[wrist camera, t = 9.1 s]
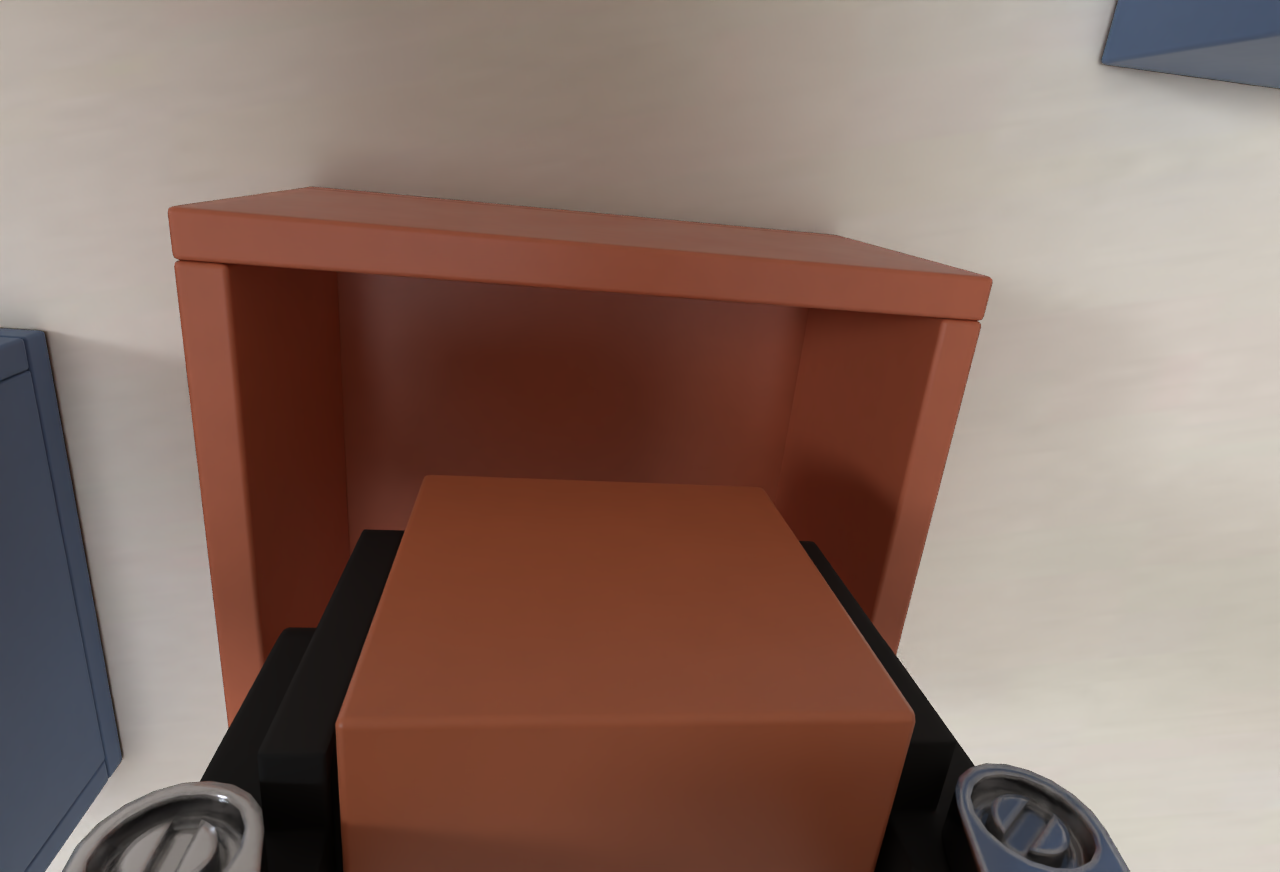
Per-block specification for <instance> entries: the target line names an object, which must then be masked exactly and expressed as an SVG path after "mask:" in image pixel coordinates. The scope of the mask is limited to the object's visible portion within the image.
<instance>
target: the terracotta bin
mask: <svg viewBox="0 0 1280 872" xmlns="http://www.w3.org/2000/svg"><path fill="white" fill-rule="evenodd" d="M168 218H169V227H170V235H171V244H172V252H173V256H174V258H177V259H179V261H176V262H175V266H174V268H175V276H176V285H177V293H178V302H179V310H180V319H181V327H182V336H183V344H184V353H185V361H186V370H187V378H188V387H189V395H190V404H191V412H192V421H193V429H194V438H195V446H196V455H197V463H198V472H199V480H200V489H201V497H202V506H203V514H204V523H205V531H206V540H207V548H208V557H209V566H210V574H211V583H212V591H213V600H214V608H215V617H216V625H217V634H218V642H219V651H220V659H221V668H222V676H223V685H224V693H225V702H226V710H227V719H228V727H230V725H231V723H232V721H233V720H234V718H235V716H236V714H237V712H238V710H239V709H240V707H241V705H242V703H243V701H244V699H245V698H246V696H247V694H248V692H249V690H250V688H251V687H252V685H253V683H254V681H255V679H256V677H257V676H258V674H259V672H260V670H261V668H262V666H263V664H264V663H265V661H266V659H267V657H268V655H269V653H270V652H271V650H272V648H273V646H274V644H275V642H276V641H277V639H278V637H279V636H280V634H281V633H282V631H283V630H284V629H286V628H289V627H302V628H317V626H318V624H319V622H320V620H321V617H322V615H323V613H324V611H325V609H326V607H327V605H328V603H329V601H330V598H331V596H332V594H333V592H334V590H335V588H336V586H337V584H338V581H339V579H340V577H341V575H342V573H343V571H344V569H345V567H346V565H347V562H348V560H349V558H350V556H351V554H352V552H353V550H354V548H355V546H356V543H357V541H358V539H359V537H360V535H361V533H362V531H363V530H365V529H368V530H405V529H406V526H407V523H408V521H409V518H410V515H411V512H412V509H413V507H414V504H415V501H416V498H417V496H418V493H419V490H420V487H421V485H422V482H423V479H424V477H425V476H427V475H449V476H476V477H503V478H530V479H556V480H583V481H610V482H636V483H663V484H690V485H717V486H743V487H760V488H762V489H764V490H765V492H766V493H767V495H768V496H769V498H770V499H771V501H772V502H773V504H774V505H775V507H776V508H777V510H778V511H779V513H780V514H781V516H782V517H783V519H784V520H785V522H786V523H787V524H788V526H789V527H790V529H791V530H792V532H793V533H794V535H795V536H796V538H797V539H798V541H813V542H814V543H815V544H816V545H817V546H818V548H819V549H820V550H821V552H822V553H823V555H824V556H825V558H826V559H827V560H828V562H829V563H830V565H831V566H832V567H833V569H834V570H835V572H836V573H837V574H838V576H839V577H840V579H841V580H842V581H843V583H844V584H845V586H846V587H847V588H848V590H849V591H850V593H851V594H852V595H853V597H854V598H855V600H856V601H857V602H858V604H859V605H860V607H861V608H862V609H863V611H864V612H865V614H866V615H867V616H868V618H869V619H870V621H871V622H872V623H873V625H874V626H875V628H876V629H877V630H878V632H879V633H880V635H881V636H882V637H883V639H884V640H885V641H886V642H887V644H888V645H889V647H890V648H891V649H892V651H893V652H894V654H895V655H896V653H897V649H898V646H899V642H900V638H901V634H902V630H903V626H904V622H905V618H906V615H907V611H908V607H909V603H910V599H911V595H912V591H913V588H914V584H915V580H916V576H917V572H918V568H919V564H920V560H921V557H922V553H923V549H924V545H925V541H926V537H927V533H928V529H929V526H930V522H931V518H932V514H933V510H934V506H935V502H936V499H937V495H938V491H939V487H940V483H941V479H942V475H943V471H944V468H945V464H946V460H947V456H948V452H949V448H950V444H951V440H952V437H953V433H954V429H955V425H956V421H957V417H958V413H959V410H960V406H961V402H962V398H963V394H964V390H965V386H966V382H967V379H968V375H969V371H970V367H971V363H972V359H973V355H974V352H975V348H976V344H977V340H978V336H979V332H980V328H981V324H980V322H978V320H982V319H983V317H984V313H985V310H986V306H987V302H988V298H989V294H990V290H991V286H992V279H991V278H990V277H988V276H985V275H981V274H977V273H974V272H970V271H966V270H963V269H959V268H955V267H952V266H948V265H944V264H941V263H937V262H933V261H930V260H926V259H922V258H918V257H915V256H911V255H907V254H904V253H900V252H896V251H893V250H889V249H885V248H882V247H878V246H874V245H871V244H867V243H863V242H860V241H856V240H852V239H849V238H845V237H841V236H837V235H829V234H818V233H807V232H797V231H786V230H775V229H764V228H753V227H743V226H732V225H721V224H710V223H699V222H689V221H678V220H667V219H656V218H645V217H635V216H624V215H613V214H602V213H591V212H581V211H570V210H559V209H548V208H537V207H527V206H516V205H505V204H494V203H483V202H473V201H462V200H451V199H440V198H429V197H419V196H408V195H397V194H386V193H375V192H365V191H354V190H343V189H332V188H321V187H306V188H298V189H291V190H284V191H277V192H270V193H263V194H256V195H249V196H242V197H235V198H227V199H220V200H213V201H206V202H199V203H192V204H185V205H178V206H173V207H170V208H169V209H168Z"/></svg>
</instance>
